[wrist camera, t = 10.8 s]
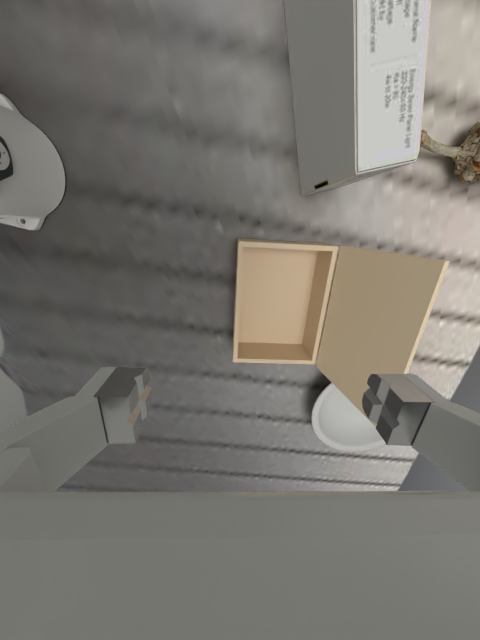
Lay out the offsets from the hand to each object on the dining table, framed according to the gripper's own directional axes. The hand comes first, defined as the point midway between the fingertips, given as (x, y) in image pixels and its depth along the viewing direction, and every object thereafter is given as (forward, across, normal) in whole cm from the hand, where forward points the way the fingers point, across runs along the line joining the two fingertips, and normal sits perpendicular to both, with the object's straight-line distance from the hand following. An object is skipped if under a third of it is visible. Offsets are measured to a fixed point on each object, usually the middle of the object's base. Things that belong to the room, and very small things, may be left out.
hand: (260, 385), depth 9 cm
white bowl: (+40, -30, +32) cm, 59 cm away
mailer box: (+39, -8, +8) cm, 41 cm away
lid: (+23, -18, +8) cm, 30 cm away
